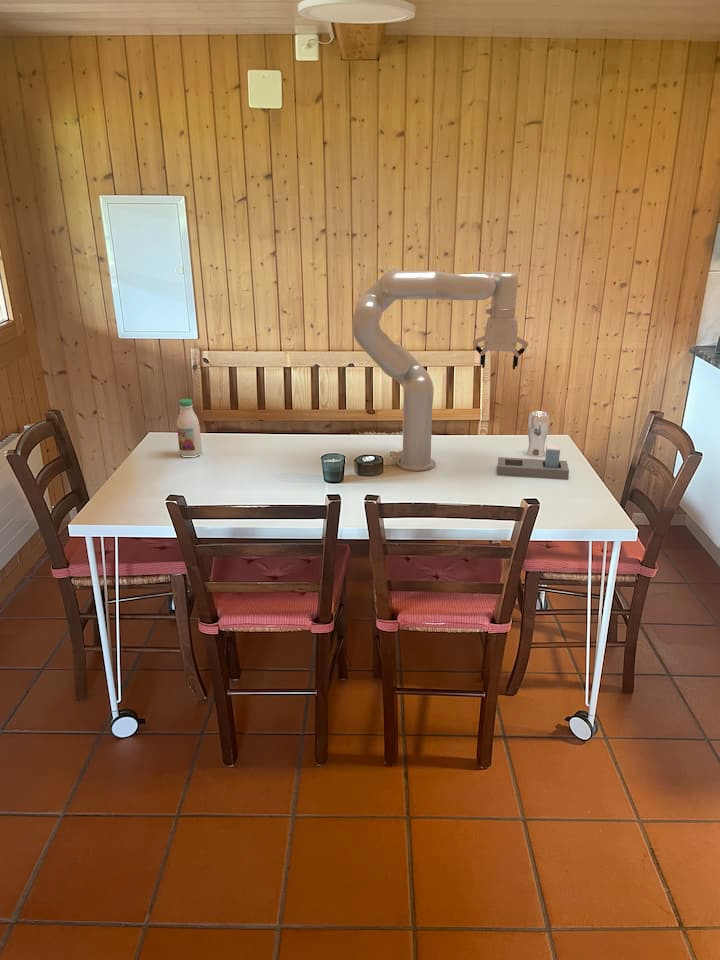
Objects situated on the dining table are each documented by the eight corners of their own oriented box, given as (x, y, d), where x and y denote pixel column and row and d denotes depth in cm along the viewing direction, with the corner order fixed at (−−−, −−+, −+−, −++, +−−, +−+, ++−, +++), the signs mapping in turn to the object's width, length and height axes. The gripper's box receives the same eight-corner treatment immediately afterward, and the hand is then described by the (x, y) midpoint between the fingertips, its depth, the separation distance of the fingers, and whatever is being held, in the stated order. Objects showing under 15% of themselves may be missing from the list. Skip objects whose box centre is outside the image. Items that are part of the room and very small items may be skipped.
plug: (544, 475, 224) (547, 448, 220) (544, 470, 227) (546, 444, 224) (557, 476, 223) (560, 449, 220) (556, 471, 227) (559, 445, 223)
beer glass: (548, 453, 244) (552, 412, 239) (542, 459, 239) (546, 417, 233) (529, 450, 248) (533, 409, 242) (522, 455, 242) (526, 414, 237)
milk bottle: (192, 449, 252) (186, 396, 244) (206, 453, 248) (201, 399, 240) (175, 455, 246) (169, 400, 239) (190, 459, 242) (184, 404, 234)
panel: (497, 476, 224) (498, 466, 223) (497, 467, 233) (498, 457, 231) (567, 480, 220) (568, 470, 219) (565, 470, 229) (566, 460, 227)
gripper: (474, 314, 215) (470, 369, 221) (531, 316, 211) (526, 371, 218) (475, 311, 221) (471, 364, 228) (530, 312, 218) (525, 366, 225)
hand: (498, 367), depth 223 cm, fingers open, 9 cm apart
